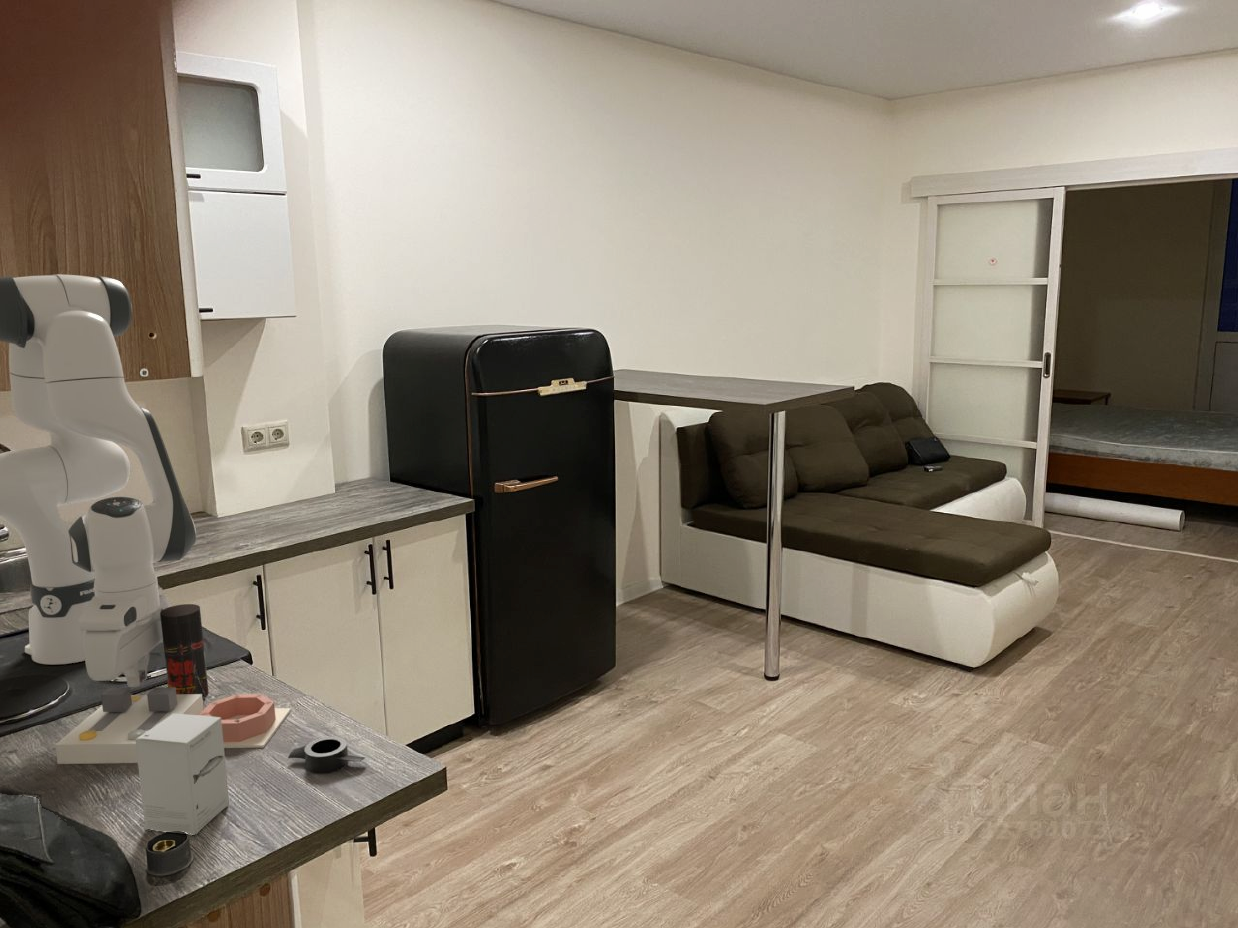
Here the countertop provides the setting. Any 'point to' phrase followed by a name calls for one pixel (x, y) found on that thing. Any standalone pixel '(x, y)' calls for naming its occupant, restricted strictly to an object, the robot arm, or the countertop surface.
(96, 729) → the breaker panel
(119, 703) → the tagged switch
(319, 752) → the black finned ring
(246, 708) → the ring
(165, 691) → the untagged switch
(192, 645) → the deodorant
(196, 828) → the supplement box
